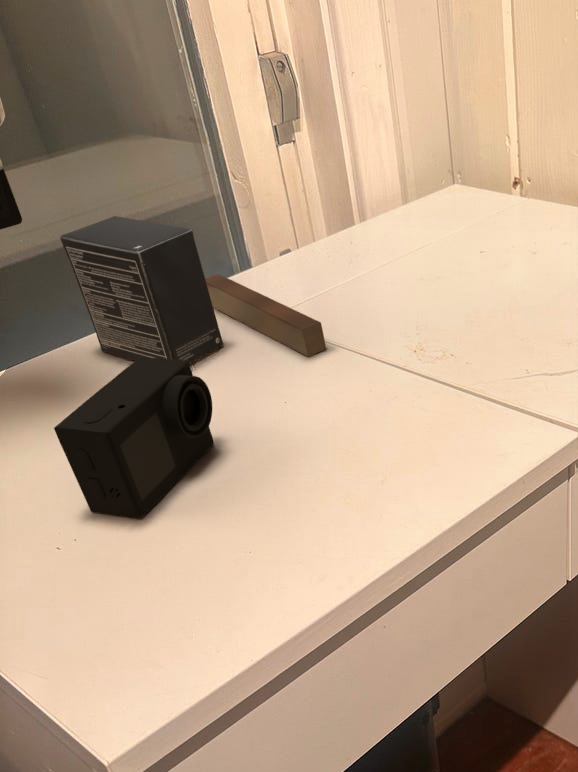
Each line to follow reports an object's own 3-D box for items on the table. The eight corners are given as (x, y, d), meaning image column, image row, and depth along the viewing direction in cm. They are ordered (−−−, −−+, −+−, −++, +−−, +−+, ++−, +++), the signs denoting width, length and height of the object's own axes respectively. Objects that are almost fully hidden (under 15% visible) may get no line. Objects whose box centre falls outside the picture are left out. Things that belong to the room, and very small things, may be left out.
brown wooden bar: (208, 305, 91) (200, 280, 89) (225, 298, 92) (218, 273, 90) (308, 357, 81) (302, 330, 79) (326, 349, 82) (321, 322, 80)
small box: (229, 344, 84) (196, 226, 77) (176, 374, 80) (136, 253, 73) (152, 324, 89) (115, 211, 82) (99, 352, 85) (54, 235, 78)
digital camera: (155, 522, 63) (120, 433, 59) (90, 513, 65) (51, 426, 60) (228, 445, 70) (203, 360, 66) (168, 438, 72) (139, 355, 67)
